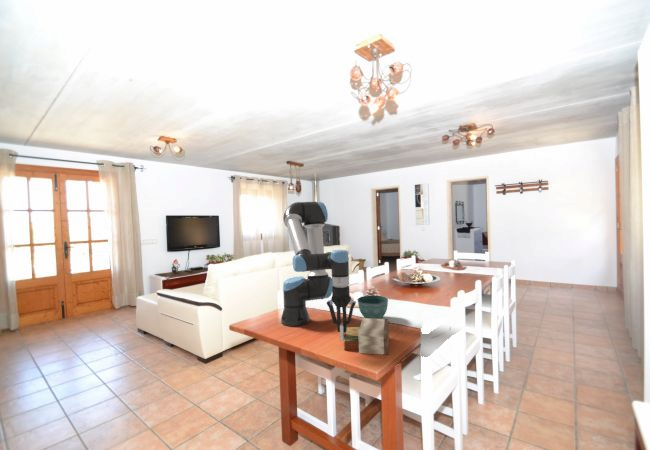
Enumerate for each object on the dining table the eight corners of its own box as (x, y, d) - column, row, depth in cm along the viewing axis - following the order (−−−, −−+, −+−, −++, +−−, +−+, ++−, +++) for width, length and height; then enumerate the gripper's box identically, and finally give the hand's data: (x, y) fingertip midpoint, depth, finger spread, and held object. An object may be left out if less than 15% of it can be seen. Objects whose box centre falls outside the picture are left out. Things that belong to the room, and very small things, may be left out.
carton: (362, 335, 140) (362, 326, 140) (364, 351, 124) (364, 340, 124) (344, 335, 140) (344, 326, 140) (344, 350, 124) (344, 340, 124)
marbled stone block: (359, 352, 121) (358, 332, 121) (363, 336, 138) (362, 318, 138) (388, 354, 119) (387, 333, 119) (388, 337, 135) (388, 319, 135)
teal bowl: (380, 326, 149) (379, 305, 149) (352, 321, 159) (351, 300, 159) (393, 317, 162) (393, 297, 162) (367, 312, 172) (366, 294, 172)
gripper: (324, 287, 129) (326, 342, 129) (354, 287, 126) (356, 343, 126) (327, 283, 136) (329, 335, 137) (356, 284, 133) (358, 336, 134)
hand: (342, 339), depth 131 cm, fingers closed
